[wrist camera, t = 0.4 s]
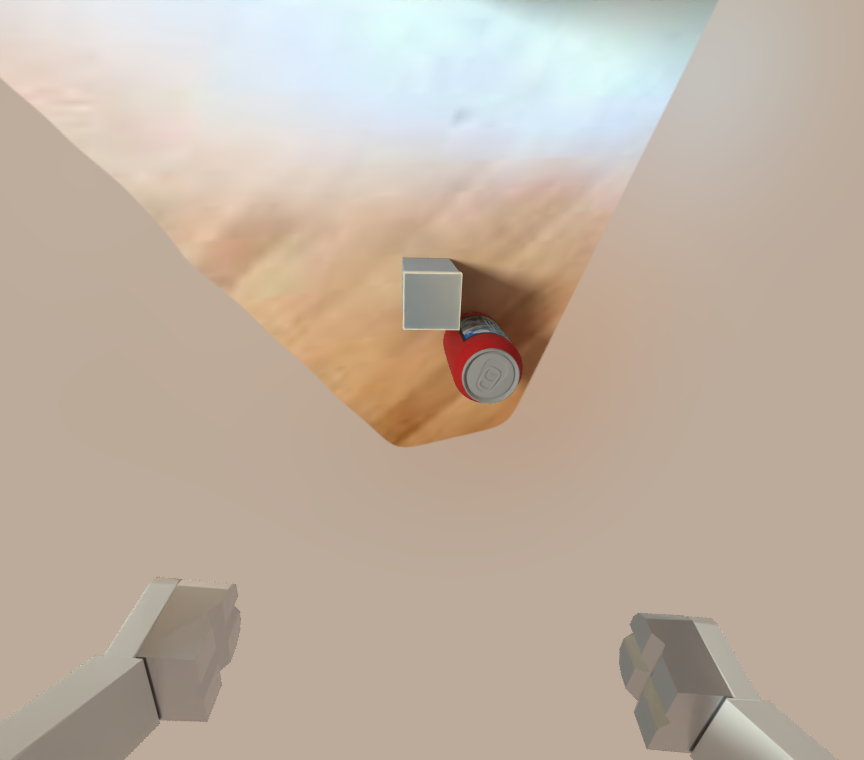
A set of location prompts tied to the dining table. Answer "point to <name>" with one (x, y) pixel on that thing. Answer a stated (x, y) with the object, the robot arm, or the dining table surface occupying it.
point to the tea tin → (431, 294)
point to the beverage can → (482, 359)
